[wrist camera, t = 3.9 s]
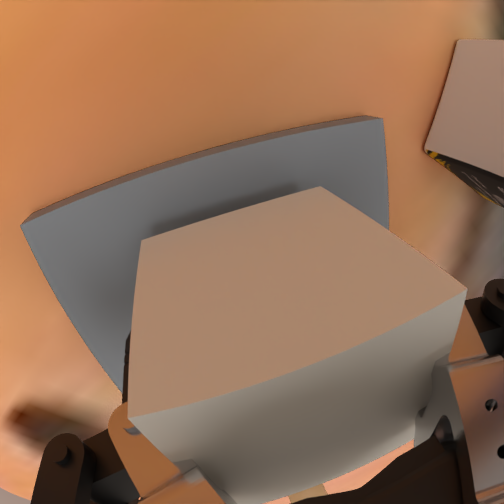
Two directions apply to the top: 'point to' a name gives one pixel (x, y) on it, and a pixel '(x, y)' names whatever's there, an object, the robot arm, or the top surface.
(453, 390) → the robot arm
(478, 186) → the medicine bottle
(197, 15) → the top surface
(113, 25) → the top surface
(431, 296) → the beige cube block
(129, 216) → the board
